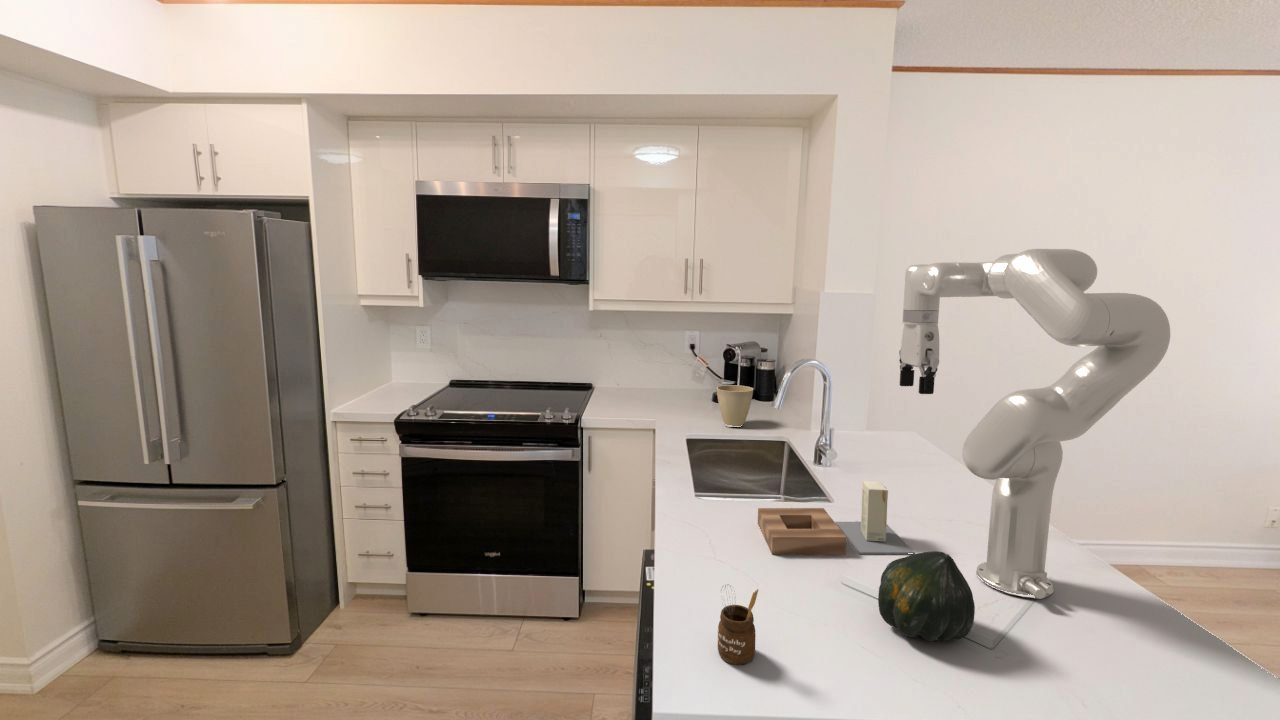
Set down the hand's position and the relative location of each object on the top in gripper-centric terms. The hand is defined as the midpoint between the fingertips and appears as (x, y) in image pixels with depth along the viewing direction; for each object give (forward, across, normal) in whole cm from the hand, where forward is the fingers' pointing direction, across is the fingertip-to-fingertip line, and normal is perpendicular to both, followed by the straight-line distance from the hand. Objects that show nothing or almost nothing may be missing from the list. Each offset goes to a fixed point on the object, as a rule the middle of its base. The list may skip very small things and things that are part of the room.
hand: (915, 389), depth 135 cm
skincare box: (+33, -8, +12) cm, 36 cm away
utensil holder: (+34, -50, +50) cm, 78 cm away
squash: (+34, -43, +17) cm, 57 cm away
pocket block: (+33, -8, +29) cm, 45 cm away
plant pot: (+34, +95, +28) cm, 105 cm away
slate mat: (+33, -8, +12) cm, 36 cm away
